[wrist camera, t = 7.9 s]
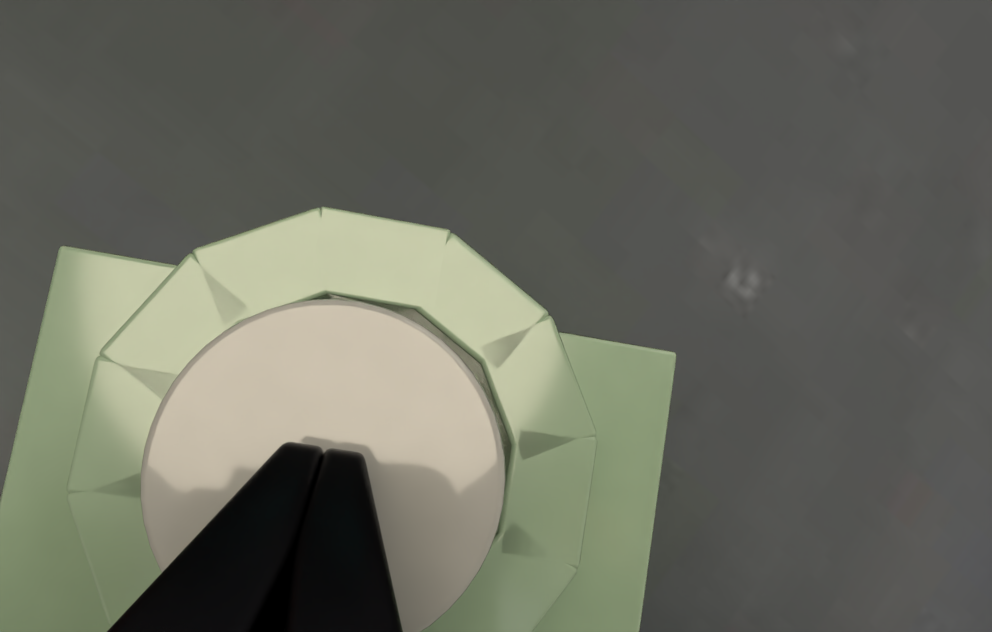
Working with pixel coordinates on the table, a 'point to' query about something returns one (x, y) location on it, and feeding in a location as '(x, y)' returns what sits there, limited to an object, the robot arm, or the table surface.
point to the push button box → (355, 277)
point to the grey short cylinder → (337, 437)
